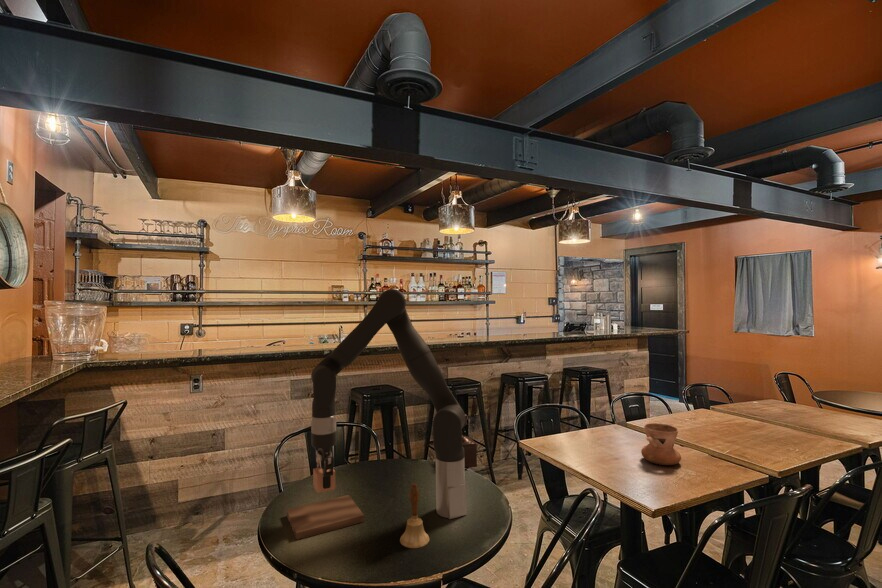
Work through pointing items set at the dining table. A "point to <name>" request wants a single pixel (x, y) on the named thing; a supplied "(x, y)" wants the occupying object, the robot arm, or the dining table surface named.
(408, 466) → the dining table surface
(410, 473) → the dining table surface
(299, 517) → the walnut board
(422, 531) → the hand bell
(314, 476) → the terracotta cube
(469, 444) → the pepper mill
